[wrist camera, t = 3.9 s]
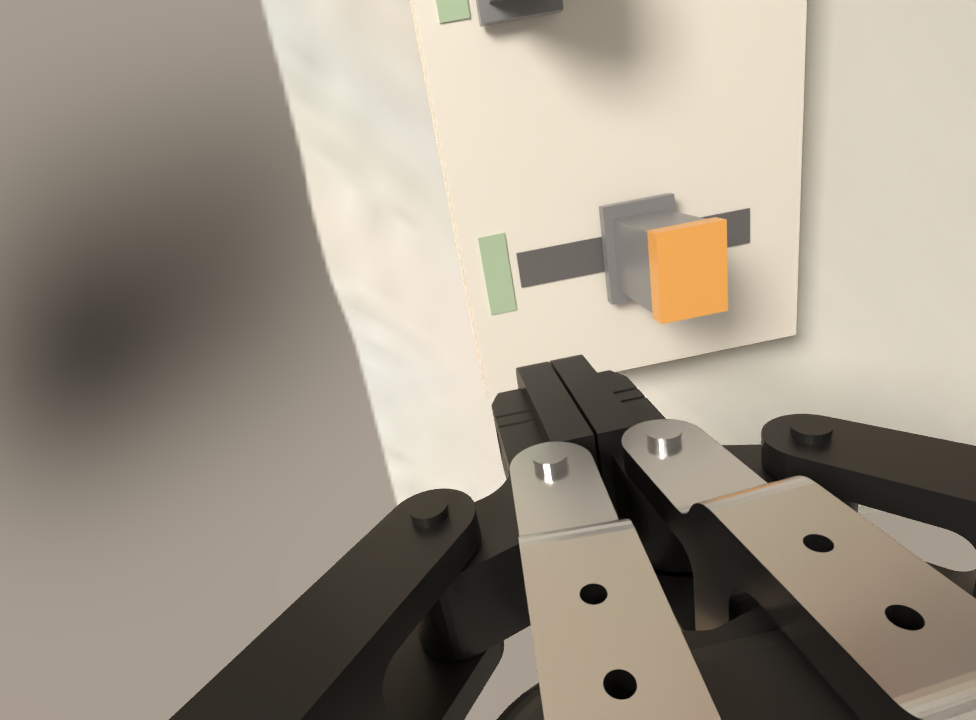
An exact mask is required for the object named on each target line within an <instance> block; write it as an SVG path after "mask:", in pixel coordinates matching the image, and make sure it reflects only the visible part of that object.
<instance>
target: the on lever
mask: <svg viewBox="0 0 976 720" xmlns="http://www.w3.org/2000/svg"><path fill="white" fill-rule="evenodd" d="M476 5H477V12H478V18H479V25H480V27H481V26H487V25H493V24H499V23H504V22H510V21H516V20H521V19H527V18H533V17H539V16H544V15H550V14H556V13H560V12H561V11H562V10H563V0H476Z"/></svg>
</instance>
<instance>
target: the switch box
mask: <svg viewBox="0 0 976 720" xmlns="http://www.w3.org/2000/svg"><path fill="white" fill-rule="evenodd" d="M410 6H411V11H412V16H413V21H414V26H415V32H416V37H417V42H418V47H419V53H420V58H421V63H422V68H423V74H424V79H425V84H426V89H427V94H428V100H429V105H430V110H431V115H432V121H433V126H434V131H435V136H436V141H437V147H438V152H439V157H440V162H441V168H442V173H443V178H444V183H445V189H446V194H447V199H448V204H449V209H450V215H451V220H452V225H453V230H454V236H455V241H456V246H457V251H458V256H459V262H460V267H461V272H462V277H463V283H464V288H465V293H466V298H467V304H468V309H469V314H470V319H471V324H472V330H473V335H474V340H475V345H476V351H477V356H478V361H479V366H480V371H481V376H482V380H483V384H484V387H485V391H486V395H487V398H491V397H496V396H497V394H498V393H501V392H506V391H510V390H515V389H518V384H517V377H516V368H517V367H522V366H527V365H532V364H537V363H542V362H547V361H548V362H550V361H551V360H556V359H561V358H566V357H571V356H576V355H581V354H582V355H583V356H584V357H585V358H586V359H587V361H588V362H589V363H590V364H591V366H592V367H593V368H594V369H595V371H596V372H597V373H598V372H602V371H607V370H611V371H613V372H618V371H622V370H627V369H632V368H637V367H642V366H647V365H652V364H656V363H661V362H666V361H671V360H676V359H681V358H686V357H691V356H695V355H700V354H705V353H710V352H715V351H720V350H725V349H729V348H734V347H739V346H744V345H749V344H754V343H759V342H763V341H768V340H773V339H778V338H783V337H788V336H793V335H796V321H797V290H798V259H799V229H800V198H801V168H802V137H803V107H804V76H805V46H806V15H807V0H563V10H562V11H561V12H560V13H556V14H550V15H544V16H539V17H533V18H527V19H521V20H516V21H510V22H504V23H499V24H493V25H487V26H481V27H480V25H479V18H478V12H477V5H476V0H410ZM666 193H672V194H674V199H675V212H679V213H683V214H687V215H692V216H696V217H701V218H705V219H708V218H714V217H717V218H722V219H727V272H728V311H724V312H719V313H714V314H710V315H705V316H700V317H695V318H690V319H685V320H680V321H675V322H670V323H665V324H660V323H659V322H657V321H656V320H655V319H653V313H651V312H650V311H648V310H647V309H645V308H644V307H642V306H641V305H640V304H638V303H637V302H635V301H634V300H633V301H628V302H623V303H618V304H613V305H612V304H610V303H609V302H608V299H607V288H606V278H605V267H604V257H603V246H602V236H601V225H600V215H599V206H603V205H608V204H613V203H619V202H624V201H629V200H634V199H640V198H645V197H650V196H655V195H660V194H666Z"/></svg>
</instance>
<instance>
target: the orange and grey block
mask: <svg viewBox="0 0 976 720" xmlns="http://www.w3.org/2000/svg"><path fill="white" fill-rule="evenodd" d="M599 215H600V225H601V236H602V246H603V257H604V267H605V278H606V288H607V299H608V302H609V303H610V304H612V305H613V304H618V303H623V302H628V301H633V300H634V301H635V302H637V303H638V304H640V305H641V306H642V307H644V308H645V309H647V310H648V311H650V312H651V313H653V319H655V320H656V321H657V322H659V323H660V324H665V323H670V322H675V321H680V320H685V319H690V318H695V317H700V316H705V315H710V314H714V313H719V312H724V311H728V272H727V219H722V218H717V217H714V218H708V219H705V218H701V217H696V216H692V215H687V214H683V213H679V212H675V199H674V194H672V193H666V194H660V195H655V196H650V197H645V198H640V199H634V200H629V201H624V202H619V203H613V204H608V205H603V206H599Z"/></svg>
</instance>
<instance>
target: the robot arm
mask: <svg viewBox="0 0 976 720" xmlns="http://www.w3.org/2000/svg"><path fill="white" fill-rule="evenodd" d="M516 377H517V384H518V389H515V390H510V391H506V392H501V393H498V394H497V396H496V398H495V399H494V401H493V403H492V410H493V416H494V421H495V426H496V432H497V437H498V443H499V448H500V453H501V459H502V464H503V468H504V471H505V475H506V478H507V480H506V481H505V483H504V484H503V485H502V486H501V487H500V488H499V489H498V490H496V491H495V492H494V493H492V494H491V495H489V496H487V497H485V498H483V499H481V500H479V501H476V502H474V501H473V500H472V499H471V497H470V496H468V495H467V494H465V493H463V492H461V491H458V490H454V489H434V490H428V491H425V492H421V493H419V494H416V495H414V496H412V497H410V498H408V499H406V500H405V501H403V502H401V503H400V504H399V505H398V506H397V507H395V508H394V509H393V510H392V511H391V512H390V513H389V514H388V515H387V516H386V517H385V518H384V519H383V520H382V521H380V523H378V524H377V525H376V526H375V527H374V528H373V529H372V530H371V531H370V532H369V533H368V534H367V535H366V536H365V537H363V538H362V539H361V540H360V541H359V542H358V543H357V544H356V545H355V546H354V547H353V548H352V549H351V550H350V551H348V552H347V553H346V554H345V555H344V556H343V557H342V558H341V559H340V560H339V561H338V562H337V563H336V564H335V565H334V566H333V567H331V568H330V569H329V570H328V571H327V572H326V573H325V574H324V575H323V576H322V577H321V578H320V579H319V580H318V581H317V582H315V583H314V584H313V585H312V586H311V587H310V588H309V589H308V590H307V591H306V592H305V593H304V594H303V595H301V597H299V598H298V599H297V600H296V601H295V602H294V603H293V604H292V605H291V606H290V607H289V608H288V609H287V610H285V611H284V612H283V613H282V614H281V615H280V616H279V617H278V618H277V619H276V620H275V621H274V622H273V623H272V624H270V625H269V626H268V627H267V628H266V629H265V630H264V631H263V632H262V633H261V634H260V635H259V636H258V637H257V638H256V639H254V640H253V641H252V642H251V643H250V644H249V645H248V646H247V647H246V648H245V649H244V650H243V651H242V652H241V653H240V654H238V655H237V656H236V657H235V658H234V659H233V660H232V661H231V662H230V663H229V664H228V665H227V666H226V667H225V668H224V669H222V670H221V671H220V672H219V673H218V674H217V675H216V676H215V677H214V678H213V679H212V680H211V681H210V682H209V683H208V684H206V685H205V686H204V687H203V688H202V689H201V690H200V691H199V692H198V693H197V694H196V695H195V696H194V697H193V698H191V699H190V700H189V701H188V702H187V703H186V704H185V705H184V706H183V707H182V708H181V709H180V710H179V711H178V712H177V713H175V715H173V716H172V717H171V718H170V719H169V720H464V719H465V717H466V715H467V714H468V712H469V711H470V709H471V707H472V706H473V704H474V703H475V701H476V699H477V698H478V696H479V695H480V693H481V691H482V690H483V687H484V686H485V685H486V683H487V681H488V680H489V678H490V677H491V675H492V673H493V672H494V670H495V668H496V667H497V665H498V663H499V662H500V660H501V658H502V654H503V651H504V640H505V639H507V638H509V637H510V636H512V635H514V634H516V633H518V632H519V631H521V630H523V629H525V628H526V627H528V626H530V625H531V630H532V636H533V643H534V651H535V658H536V665H537V672H538V679H539V683H538V684H536V685H535V686H533V687H532V688H530V689H529V690H527V691H526V692H525V693H523V694H522V695H521V696H520V697H518V698H517V699H516V700H515V701H514V702H513V703H512V704H511V705H509V706H508V708H507V709H506V710H505V711H504V712H503V713H502V714H501V715H500V716H499V718H498V719H497V720H976V569H975V570H972V571H968V572H959V571H953V570H949V569H946V568H943V567H940V566H937V565H934V564H931V563H928V562H925V561H923V560H922V559H920V558H919V557H918V556H916V555H915V554H913V553H912V552H911V551H909V550H908V549H907V548H905V547H904V546H902V545H901V544H899V543H898V542H897V541H896V540H894V539H893V538H891V537H890V536H889V535H887V534H886V533H885V532H883V531H882V530H880V529H879V528H878V527H876V526H875V525H874V524H872V523H871V522H869V521H868V520H867V519H865V518H864V517H863V516H861V515H860V514H858V513H857V512H858V504H860V505H864V506H867V507H871V508H874V509H878V510H881V511H885V512H888V513H892V514H896V515H899V516H902V517H906V518H909V519H913V520H916V521H920V522H923V523H927V524H930V525H934V526H937V527H941V528H944V529H948V530H950V531H953V532H955V533H957V534H959V535H961V536H962V537H964V538H965V539H967V540H968V541H969V542H970V543H971V544H972V545H973V546H974V548H975V549H976V446H973V445H968V444H963V443H958V442H953V441H948V440H943V439H938V438H933V437H927V436H922V435H917V434H912V433H907V432H902V431H897V430H892V429H887V428H882V427H877V426H872V425H867V424H862V423H857V422H852V421H847V420H842V419H837V418H831V417H826V416H821V415H812V414H793V415H786V416H781V417H778V418H775V419H772V420H771V421H769V422H767V423H766V424H765V425H764V426H763V428H762V432H761V445H720V444H719V443H718V442H717V441H715V440H714V439H713V438H712V437H711V436H709V435H708V434H707V433H706V432H704V431H703V430H702V429H701V428H699V427H698V426H696V425H693V424H691V423H688V422H685V421H680V420H673V419H666V418H665V417H664V416H663V415H662V414H661V413H660V412H659V411H658V410H657V409H656V408H655V407H654V405H653V404H652V403H651V402H650V401H649V400H648V399H647V398H645V397H644V395H643V394H642V393H641V392H640V390H639V389H637V387H636V386H635V385H634V384H633V383H632V382H631V381H630V380H629V379H628V378H627V377H626V376H623V375H621V374H618V373H616V372H613V371H611V370H607V371H602V372H598V373H597V372H596V371H595V369H594V368H593V367H592V366H591V364H590V363H589V362H588V361H587V359H586V358H585V357H584V356H583V355H582V354H581V355H576V356H571V357H566V358H561V359H556V360H551V361H550V362H548V361H547V362H542V363H537V364H532V365H527V366H522V367H517V368H516Z"/></svg>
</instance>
